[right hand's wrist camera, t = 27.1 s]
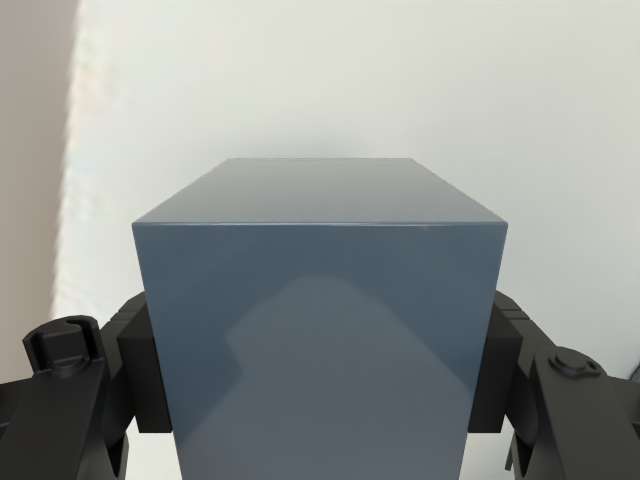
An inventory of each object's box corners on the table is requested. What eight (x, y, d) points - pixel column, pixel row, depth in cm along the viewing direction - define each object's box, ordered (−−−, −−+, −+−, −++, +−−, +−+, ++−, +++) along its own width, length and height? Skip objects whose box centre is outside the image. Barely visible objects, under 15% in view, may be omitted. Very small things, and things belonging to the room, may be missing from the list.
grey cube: (397, 328, 17) (455, 501, 10) (243, 328, 17) (185, 501, 10) (412, 157, 14) (510, 222, 7) (227, 158, 14) (128, 223, 7)
